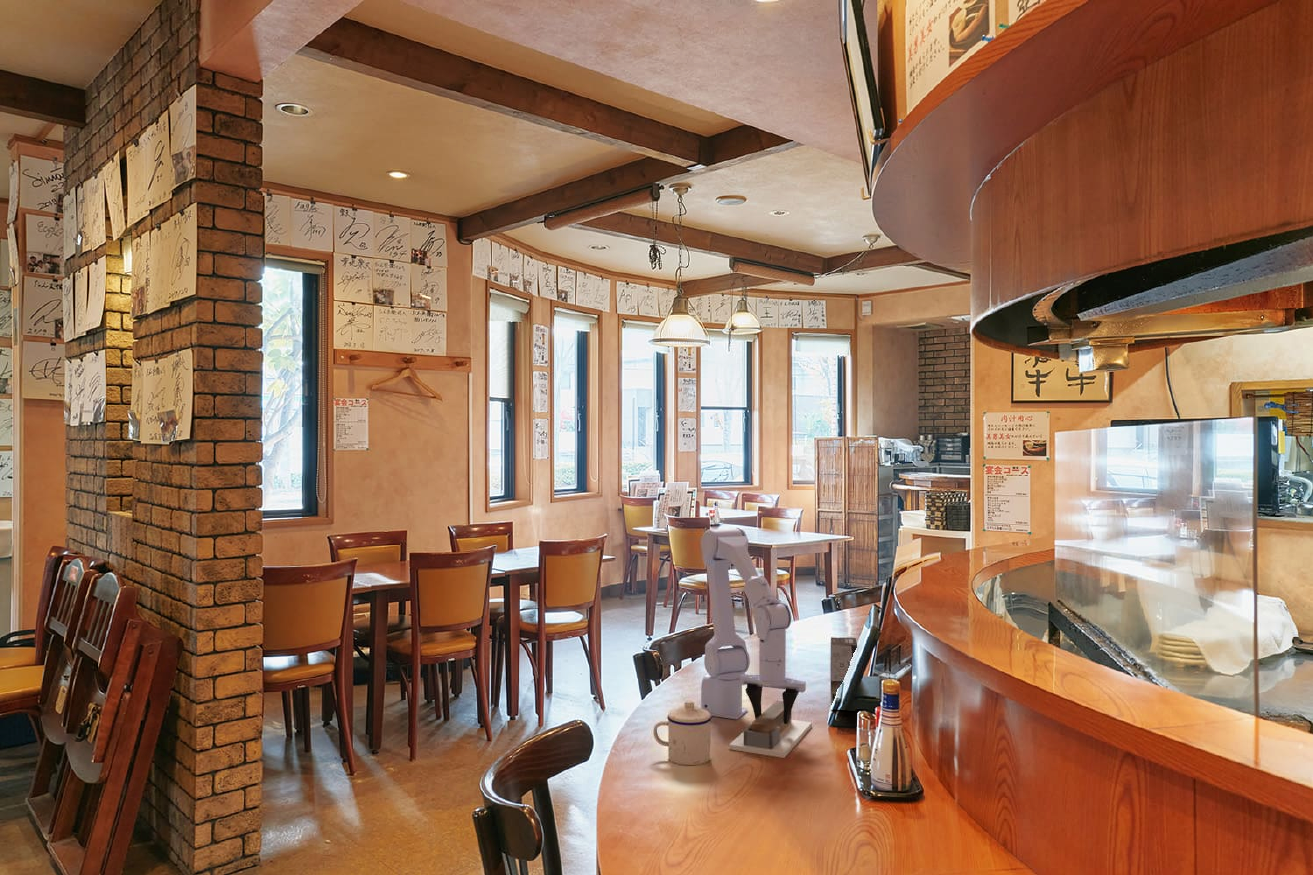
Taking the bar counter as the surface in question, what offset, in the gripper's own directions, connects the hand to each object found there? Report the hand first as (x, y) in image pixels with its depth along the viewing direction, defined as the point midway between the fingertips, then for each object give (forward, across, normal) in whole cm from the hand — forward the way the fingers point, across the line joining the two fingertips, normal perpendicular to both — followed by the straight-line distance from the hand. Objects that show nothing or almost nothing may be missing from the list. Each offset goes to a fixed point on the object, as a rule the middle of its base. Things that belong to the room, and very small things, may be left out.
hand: (772, 720), depth 194 cm
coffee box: (+4, +9, +30) cm, 32 cm away
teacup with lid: (+4, -13, -20) cm, 24 cm away
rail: (+3, 0, 0) cm, 3 cm away
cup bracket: (+4, 0, 0) cm, 4 cm away
